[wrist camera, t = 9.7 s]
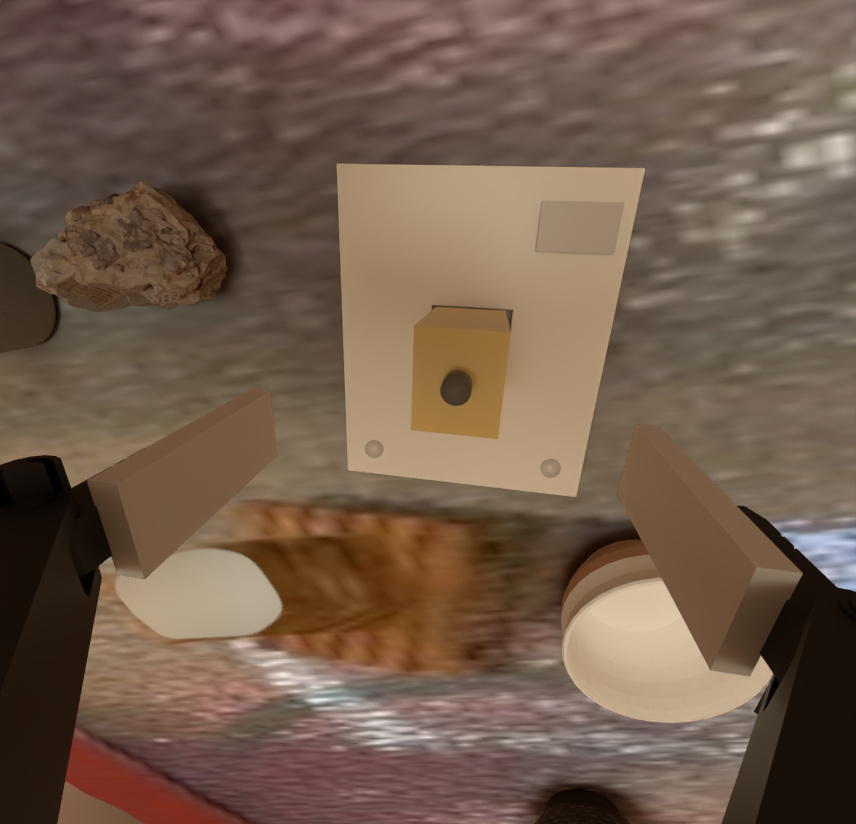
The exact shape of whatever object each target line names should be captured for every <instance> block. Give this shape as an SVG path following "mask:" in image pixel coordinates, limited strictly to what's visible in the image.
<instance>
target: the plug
mask: <svg viewBox="0 0 856 824" xmlns="http://www.w3.org/2000/svg"><path fill="white" fill-rule="evenodd" d="M510 334H511V331H510V327H509V323H508V319H507V315H506V311H499V310H483V309H466V308H450V307H436V308H434V309H433V310H432V311H431V312H430V313H428V314H427V315H426V316H425V317H424V318H422V319H421V320H420V321H419V322H418V323H417V324H415V325H414V339H413V374H412V409H411V430H413V431H423V432H433V433H443V434H452V435H462V436H472V437H482V438H491V439H498V435H499V427H500V419H501V410H502V402H503V393H504V385H505V376H506V368H507V360H508V351H509V343H510Z"/></svg>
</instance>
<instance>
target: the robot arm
mask: <svg viewBox="0 0 856 824" xmlns="http://www.w3.org/2000/svg"><path fill="white" fill-rule="evenodd" d="M277 456H278V455H277V447H276V438H275V429H274V421H273V412H272V403H271V394H270V391H263V390H253V389H251V390H249V391H247V392H246V393H244V394H242V395H240V396H238V397H237V398H235V399H233V400H231V401H229V402H228V403H226V404H224V405H222V406H220V407H219V408H217V409H215V410H213V411H211V412H209V413H208V414H206V415H204V416H202V417H200V418H199V419H197V420H195V421H193V422H191V423H190V424H188V425H186V426H184V427H182V428H181V429H179V430H177V431H175V432H173V433H172V434H170V435H168V436H166V437H164V438H163V439H161V440H159V441H157V442H155V443H154V444H152V445H150V446H148V447H146V448H144V449H142V450H140V451H138V452H136V453H135V454H133V455H131V456H129V457H128V458H126V459H124V460H122V461H120V462H118V463H116V464H115V465H114V466H111V467H109V468H107V469H106V470H104V471H102V472H100V473H98V474H97V475H95V476H93V477H91V478H89V479H87V480H86V481H84V482H82V483H80V484H78V485H77V486H75V487H73V488H71V486H70V483H69V480H68V478H67V475H66V472H65V469H64V466H63V463H62V460H61V458H59V457H56V456H47V455H43V456H33V457H27V458H22V459H18V460H14V461H11V462H8V463H5V464H2V465H0V824H57V822H58V816H59V811H60V805H61V800H62V794H63V789H64V783H65V778H66V772H67V767H68V761H69V756H70V750H71V745H72V739H73V734H74V728H75V723H76V717H77V712H78V706H79V701H80V695H81V690H82V684H83V679H84V673H85V668H86V662H87V657H88V651H89V646H90V640H91V635H92V629H93V624H94V618H95V613H96V607H97V602H98V596H99V591H100V585H101V580H102V577H101V573H100V570H99V567H98V566H99V565H100V564H101V563H103V562H104V561H105V560H107V559H108V558H109V557H110V556H111V557H112V560H113V563H114V566H115V569H116V572H117V575H122V576H128V577H135V578H141V579H146V578H147V577H148V576H149V575H150V574H151V573H152V572H153V571H154V570H155V569H156V568H157V567H158V566H159V565H161V563H163V562H164V561H165V560H166V559H167V558H168V557H169V556H170V555H171V554H172V553H173V552H175V551H176V550H177V549H178V548H179V547H180V546H181V545H182V544H183V543H184V542H185V541H186V540H187V539H188V538H190V537H191V536H192V535H193V534H194V533H195V532H196V531H197V530H198V529H199V528H200V527H201V526H202V525H204V524H205V523H206V522H207V521H208V520H209V519H210V518H211V517H212V516H213V515H214V514H215V513H216V512H218V511H219V510H220V509H221V508H222V507H223V506H224V505H225V504H226V503H227V502H228V501H229V500H230V499H231V498H233V497H234V496H235V495H236V494H237V493H238V492H239V491H240V490H241V489H242V488H243V487H244V486H245V485H247V484H248V483H249V482H250V481H251V480H252V479H253V478H254V477H255V476H256V475H257V474H258V473H259V472H260V471H262V470H263V469H264V468H265V467H266V466H267V465H268V464H269V463H270V462H271V461H272V460H273V459H274V458H276V457H277ZM617 495H618V496H619V498H620V500H621V502H622V504H623V506H624V508H625V510H626V512H627V513H628V515H629V517H630V519H631V521H632V523H633V525H634V527H635V529H636V531H637V532H638V534H639V536H640V538H641V540H642V542H643V544H644V546H645V548H646V550H647V551H648V553H649V555H650V557H651V559H652V561H653V563H654V565H655V567H656V568H657V570H658V572H659V574H660V576H661V578H662V580H663V582H664V584H665V586H666V587H667V589H668V591H669V593H670V595H671V597H672V599H673V601H674V603H675V605H676V606H677V608H678V610H679V612H680V614H681V616H682V618H683V620H684V622H685V623H686V625H687V627H688V629H689V631H690V633H691V635H692V637H693V639H694V641H695V642H696V644H697V646H698V648H699V650H700V652H701V654H702V656H703V658H704V660H705V661H706V663H707V665H708V667H709V669H710V670H711V671H717V672H724V673H730V674H736V675H742V676H748V677H750V676H751V674H752V672H753V670H754V668H755V666H756V664H757V662H758V660H759V658H760V656H762V658H763V659H764V661H765V662H766V664H767V665H768V667H769V668H770V669H771V671H772V672H773V674H774V675H773V677H772V679H771V681H770V683H769V685H768V687H767V688H766V690H765V692H764V694H763V696H762V698H761V699H760V701H759V703H758V705H757V707H756V709H755V711H754V712H755V713H757V714H758V716H757V719H756V722H755V725H754V728H753V731H752V734H751V737H750V740H749V743H748V746H747V749H746V752H745V755H744V758H743V761H742V764H741V767H740V770H739V773H738V776H737V779H736V782H735V785H734V788H733V791H732V794H731V797H730V800H729V803H728V806H727V809H726V812H725V815H724V818H723V821H722V824H856V592H854V591H852V590H847V589H842V588H837V587H836V586H835V585H834V584H833V583H832V582H831V581H830V580H829V579H828V578H827V577H826V576H825V575H824V574H823V573H822V572H820V571H819V570H818V569H817V568H816V567H815V566H814V565H813V564H812V563H811V562H810V561H809V560H808V559H807V558H806V557H805V556H804V555H803V554H802V553H801V552H800V551H799V550H798V549H794V546H793V545H792V544H791V543H790V542H789V541H788V540H787V539H786V538H785V537H782V536H781V533H780V532H779V531H778V530H777V529H776V528H775V527H774V526H773V525H771V524H770V523H769V522H768V521H767V520H766V519H765V518H763V517H761V516H760V515H758V514H756V513H755V512H753V511H752V510H750V509H748V508H747V507H745V506H736V505H735V504H734V503H733V502H732V501H731V500H730V498H729V497H728V496H727V495H726V494H725V493H724V492H723V491H722V490H721V489H720V488H719V487H718V486H717V485H716V484H715V483H714V482H713V481H712V480H711V479H710V478H709V477H708V476H707V475H706V474H705V473H704V472H703V471H702V470H701V469H700V468H699V467H698V466H697V465H696V464H695V463H694V462H693V461H692V460H691V459H690V458H689V457H688V456H687V455H686V454H685V453H684V452H683V451H682V450H681V449H680V448H679V446H678V445H677V444H676V443H675V442H674V441H673V440H672V439H671V438H670V437H669V436H668V435H667V434H666V433H665V432H664V431H663V430H662V429H661V428H660V427H655V426H645V425H635V427H634V431H633V435H632V439H631V443H630V447H629V450H628V454H627V458H626V462H625V466H624V470H623V474H622V478H621V481H620V485H619V489H618V493H617Z"/></svg>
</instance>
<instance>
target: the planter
mask: <svg viewBox="0 0 856 824" xmlns="http://www.w3.org/2000/svg"><path fill="white" fill-rule="evenodd" d="M535 824H631V823H630V822H628V821H627V820H626V819H625V818H624V817H622V816H621V815H620V813H619V811H618V810H617V808H616V807H615V806H614V805H613V803H612V802H611V801H609V800H608V799H607V798H605V797H603V796H601V795H599V794H597V793H594V792H590V791H585V790H567V791H563V792H560V793H558V794H556V795H554V796H553V797H552V798H551V799H550V801H549V803H548V805H547V808H546V811H545V812H544V813H543V814H542V815H541V816H540V817H539V818H538V820H537V821H536V823H535Z"/></svg>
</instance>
